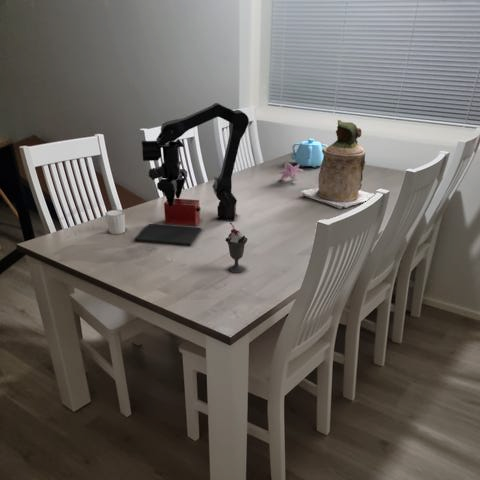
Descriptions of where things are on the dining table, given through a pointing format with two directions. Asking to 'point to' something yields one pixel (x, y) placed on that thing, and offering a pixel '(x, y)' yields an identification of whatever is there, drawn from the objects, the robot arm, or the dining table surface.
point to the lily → (290, 171)
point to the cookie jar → (341, 170)
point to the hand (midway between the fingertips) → (174, 201)
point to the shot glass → (116, 221)
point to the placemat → (168, 234)
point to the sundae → (236, 248)
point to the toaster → (182, 212)
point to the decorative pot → (308, 153)
